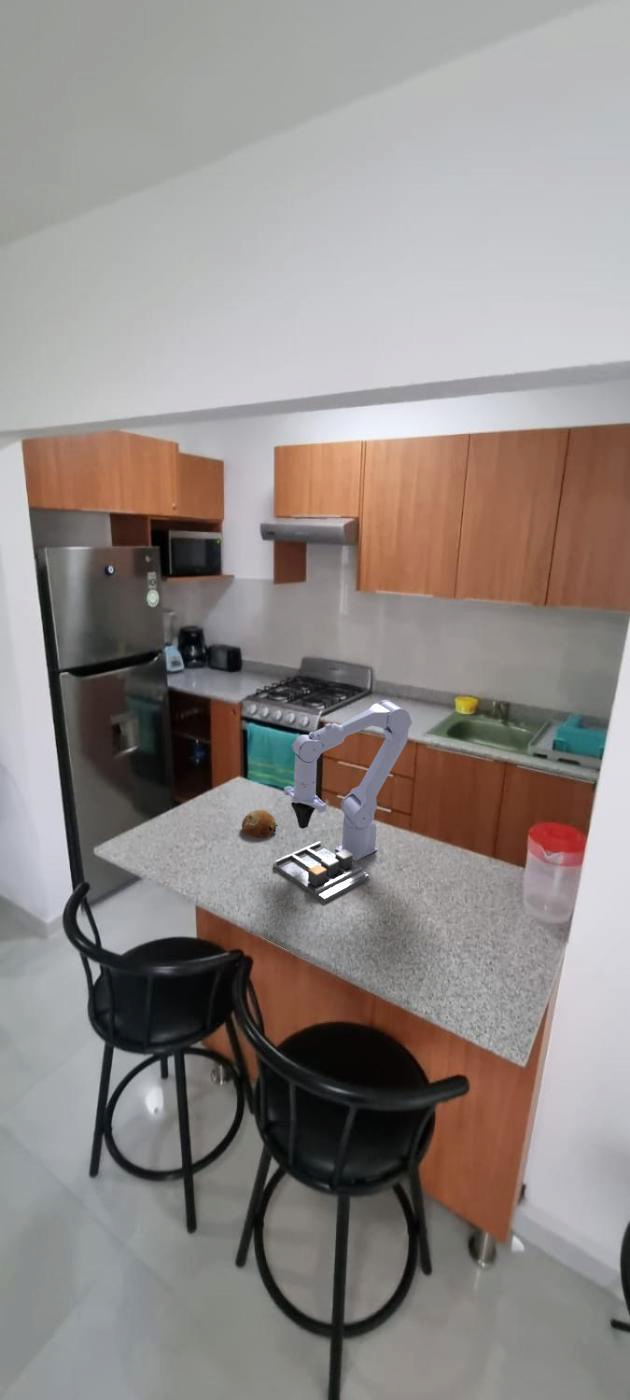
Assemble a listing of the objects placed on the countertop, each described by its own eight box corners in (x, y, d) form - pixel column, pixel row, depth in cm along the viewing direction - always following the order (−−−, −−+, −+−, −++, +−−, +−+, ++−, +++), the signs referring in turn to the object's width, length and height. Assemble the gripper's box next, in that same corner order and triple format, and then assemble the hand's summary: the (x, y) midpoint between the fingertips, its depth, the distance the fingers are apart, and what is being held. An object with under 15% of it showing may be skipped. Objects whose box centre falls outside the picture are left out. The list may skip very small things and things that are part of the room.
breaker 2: (344, 861, 151) (344, 849, 150) (352, 865, 148) (352, 853, 148) (335, 865, 148) (335, 853, 147) (343, 870, 146) (343, 858, 145)
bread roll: (262, 831, 175) (254, 807, 175) (286, 827, 168) (277, 802, 168) (240, 844, 167) (232, 818, 167) (264, 840, 161) (256, 814, 161)
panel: (317, 847, 160) (317, 840, 159) (369, 879, 146) (369, 871, 145) (273, 866, 149) (273, 859, 149) (324, 902, 135) (324, 895, 134)
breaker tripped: (317, 876, 143) (318, 864, 142) (325, 882, 141) (326, 869, 140) (308, 881, 141) (308, 868, 140) (316, 887, 139) (316, 874, 138)
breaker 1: (329, 867, 147) (330, 855, 146) (337, 872, 145) (338, 860, 144) (320, 872, 145) (321, 860, 144) (328, 877, 143) (329, 865, 142)
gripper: (275, 775, 149) (274, 821, 153) (312, 793, 139) (311, 842, 143) (295, 769, 154) (294, 813, 158) (332, 786, 144) (330, 833, 148)
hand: (303, 826), depth 151 cm, fingers closed
